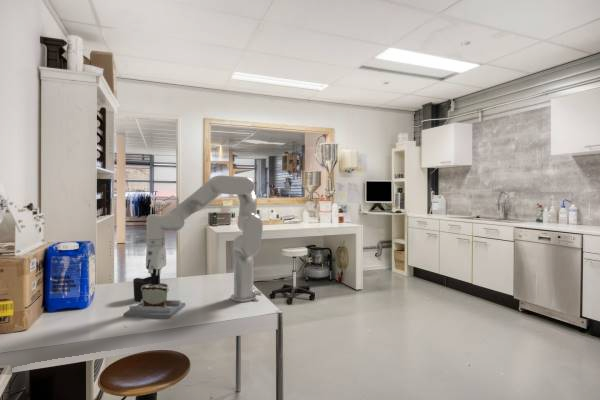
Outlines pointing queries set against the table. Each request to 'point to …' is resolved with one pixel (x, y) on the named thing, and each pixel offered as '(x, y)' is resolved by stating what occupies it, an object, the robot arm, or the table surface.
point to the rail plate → (155, 310)
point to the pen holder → (137, 287)
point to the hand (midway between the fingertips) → (155, 284)
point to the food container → (155, 294)
